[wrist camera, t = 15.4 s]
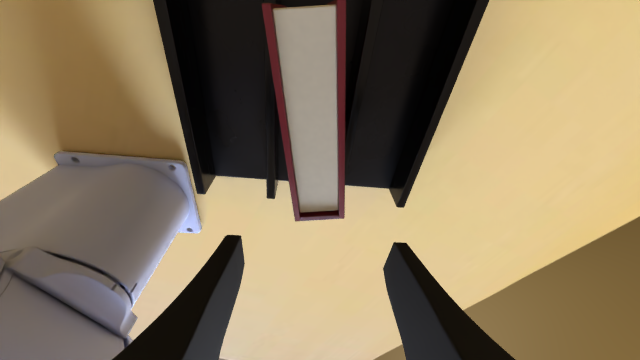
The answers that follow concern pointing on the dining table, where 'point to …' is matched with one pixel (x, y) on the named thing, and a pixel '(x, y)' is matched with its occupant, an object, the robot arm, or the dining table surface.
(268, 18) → the book
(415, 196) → the dining table surface
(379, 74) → the rack
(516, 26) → the dining table surface
